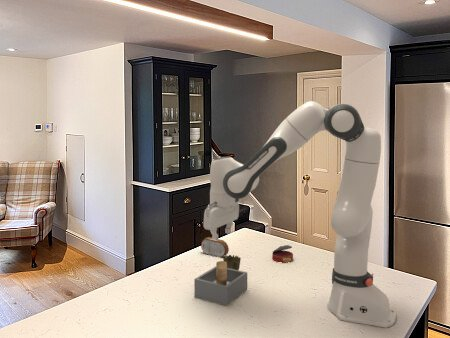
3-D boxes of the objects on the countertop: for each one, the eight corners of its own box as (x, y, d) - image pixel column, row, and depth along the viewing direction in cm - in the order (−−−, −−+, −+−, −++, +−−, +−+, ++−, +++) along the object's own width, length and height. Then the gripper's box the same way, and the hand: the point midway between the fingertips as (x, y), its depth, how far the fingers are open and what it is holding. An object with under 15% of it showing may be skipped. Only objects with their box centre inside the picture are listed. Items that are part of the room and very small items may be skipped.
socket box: (247, 289, 153) (247, 272, 152) (226, 305, 139) (226, 287, 138) (216, 282, 160) (216, 265, 159) (194, 296, 146) (194, 279, 145)
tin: (229, 257, 190) (229, 240, 189) (225, 259, 187) (225, 242, 186) (203, 251, 197) (203, 235, 196) (200, 253, 195) (200, 237, 194)
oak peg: (228, 292, 150) (228, 262, 149) (223, 296, 147) (223, 265, 146) (219, 290, 152) (219, 260, 151) (214, 293, 149) (214, 263, 148)
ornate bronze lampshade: (233, 280, 162) (233, 262, 161) (219, 276, 166) (219, 258, 165) (243, 275, 167) (244, 257, 167) (230, 271, 172) (230, 253, 171)
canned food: (275, 271, 184) (265, 253, 184) (278, 262, 193) (269, 244, 193) (296, 263, 180) (286, 244, 179) (299, 254, 189) (289, 236, 189)
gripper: (214, 205, 135) (214, 244, 136) (241, 196, 152) (241, 230, 154) (199, 204, 138) (199, 241, 140) (227, 194, 156) (227, 228, 157)
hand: (221, 236), depth 147 cm, fingers open, 8 cm apart
